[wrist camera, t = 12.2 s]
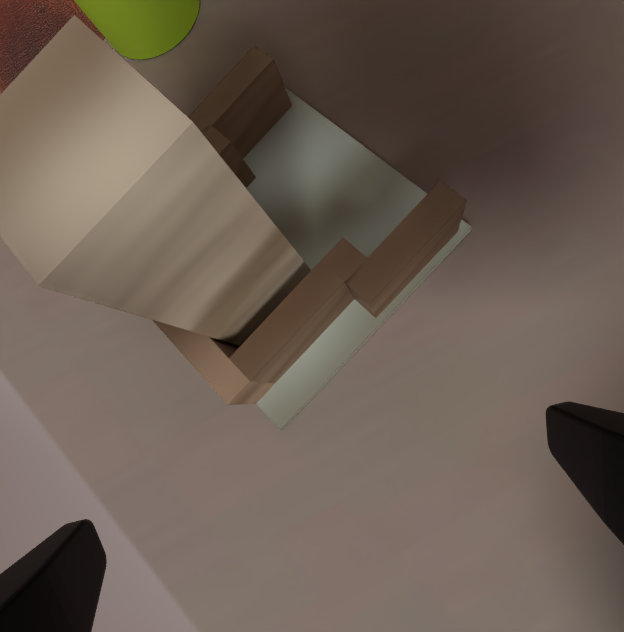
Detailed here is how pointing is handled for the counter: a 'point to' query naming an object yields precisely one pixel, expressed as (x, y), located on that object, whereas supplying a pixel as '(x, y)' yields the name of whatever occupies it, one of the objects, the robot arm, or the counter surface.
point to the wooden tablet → (31, 31)
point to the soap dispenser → (142, 24)
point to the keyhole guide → (314, 239)
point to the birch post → (131, 198)
